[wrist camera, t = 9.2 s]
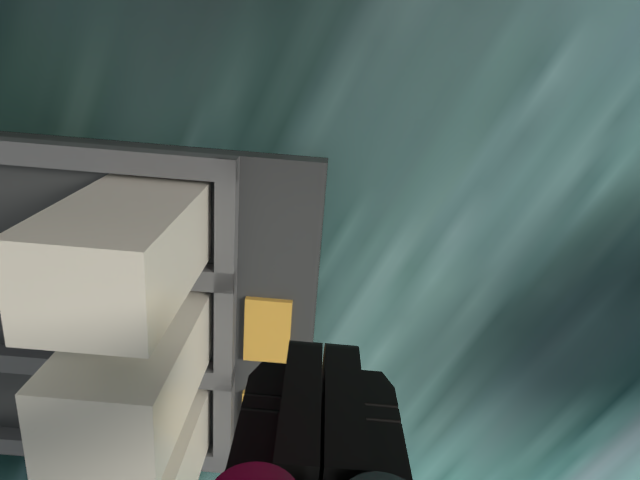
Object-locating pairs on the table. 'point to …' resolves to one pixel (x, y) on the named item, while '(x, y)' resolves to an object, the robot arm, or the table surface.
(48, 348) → the tab inner
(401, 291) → the table surface
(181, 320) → the tab middle
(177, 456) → the block
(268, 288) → the switch box
